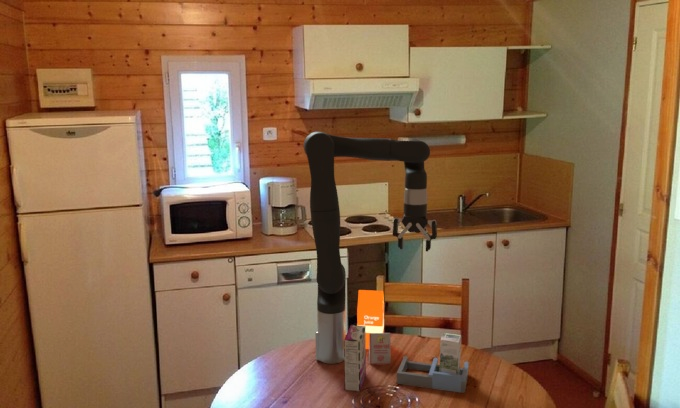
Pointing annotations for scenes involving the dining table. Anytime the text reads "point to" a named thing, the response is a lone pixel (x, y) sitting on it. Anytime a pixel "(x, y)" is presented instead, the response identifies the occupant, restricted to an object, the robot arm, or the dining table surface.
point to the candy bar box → (355, 358)
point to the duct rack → (432, 376)
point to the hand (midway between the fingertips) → (414, 249)
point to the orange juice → (370, 312)
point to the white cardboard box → (379, 348)
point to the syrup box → (450, 353)
